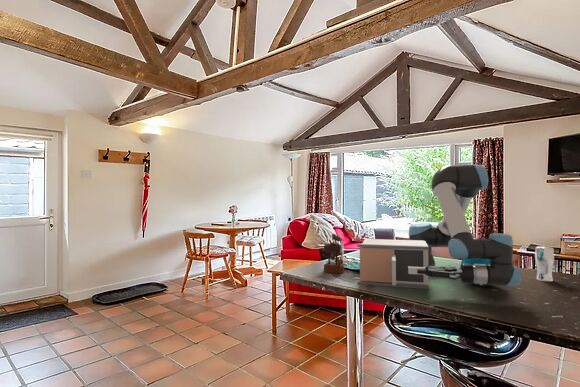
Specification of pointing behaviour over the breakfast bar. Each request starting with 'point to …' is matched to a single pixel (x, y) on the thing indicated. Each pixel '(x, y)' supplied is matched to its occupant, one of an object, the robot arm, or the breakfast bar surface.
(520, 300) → the breakfast bar surface
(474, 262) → the decorative orb
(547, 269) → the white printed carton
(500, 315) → the breakfast bar surface
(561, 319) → the breakfast bar surface
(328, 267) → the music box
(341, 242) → the screw
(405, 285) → the sliding door cabinet
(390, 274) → the side door
